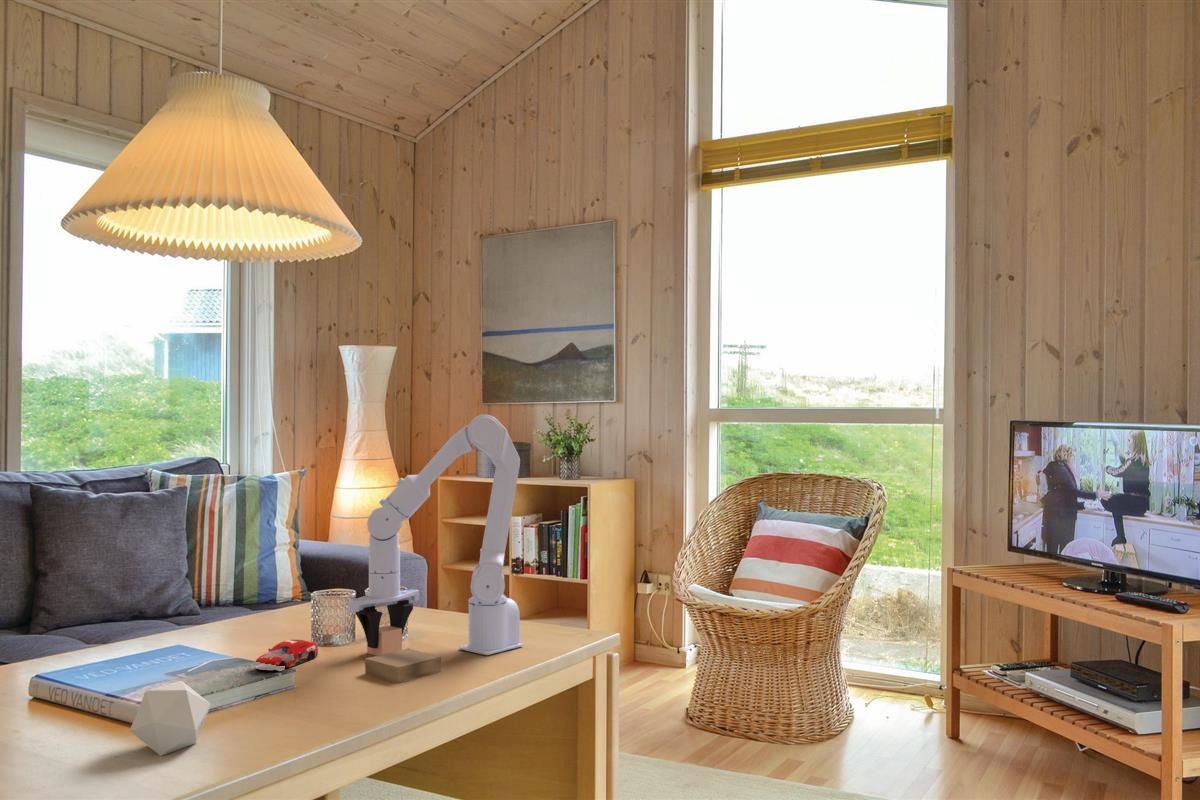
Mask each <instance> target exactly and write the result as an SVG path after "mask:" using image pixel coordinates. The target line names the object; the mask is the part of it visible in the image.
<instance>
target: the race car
mask: <svg viewBox="0 0 1200 800" xmlns="http://www.w3.org/2000/svg"><path fill="white" fill-rule="evenodd" d="M318 655H319V648H318V645H317V643H316V642H315V641H309V640H303V639H287V640H283V641H281V642H279V643H277V644H275V645H274V646H273V647H272V648H268V652H266V653H264V654H262V655H260V656H259V657H258V658H256V660H255V662H260V663H265V664H271V665H276V666H285V667H289V668H291V667H294V666H297V665H300V664H302V663H305V662H310V661H313V660H314V659H315V658H316V657H318Z"/></svg>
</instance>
